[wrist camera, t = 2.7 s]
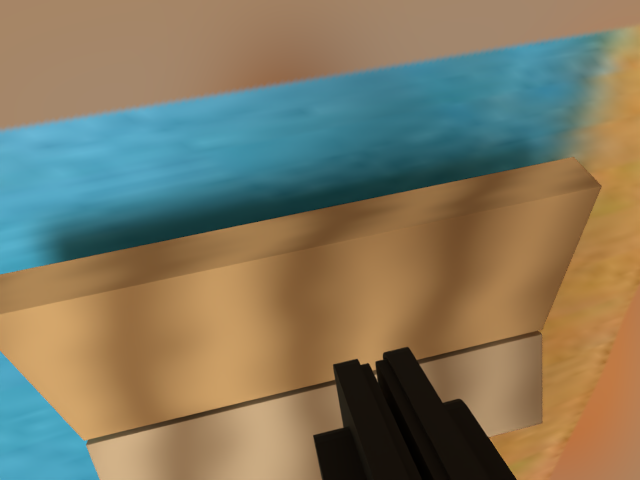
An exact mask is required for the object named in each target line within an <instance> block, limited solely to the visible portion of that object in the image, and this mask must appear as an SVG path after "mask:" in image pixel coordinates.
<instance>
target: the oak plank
mask: <svg viewBox="0 0 640 480" xmlns="http://www.w3.org/2000/svg"><path fill="white" fill-rule="evenodd" d="M601 187H602V186H601V185H600V184H599V183H598V182H597V181H596V180H595V179H594V178H593V177H592V176H591V174H590V173H589V172H588V171H587V170H586V169H585V168H584V167H583V166H582V165H581V164H580V163H579V162H578V161H577V160H576V159H575V158H574V157H571V158H566V159H561V160H557V161H552V162H547V163H542V164H537V165H532V166H527V167H522V168H518V169H513V170H508V171H503V172H498V173H493V174H488V175H483V176H479V177H474V178H469V179H464V180H459V181H454V182H449V183H444V184H440V185H435V186H430V187H425V188H420V189H415V190H410V191H406V192H401V193H396V194H391V195H386V196H381V197H376V198H371V199H367V200H362V201H357V202H352V203H347V204H342V205H337V206H332V207H328V208H323V209H318V210H313V211H308V212H303V213H298V214H293V215H289V216H284V217H279V218H274V219H269V220H264V221H259V222H255V223H250V224H245V225H240V226H235V227H230V228H225V229H220V230H216V231H211V232H206V233H201V234H196V235H191V236H186V237H181V238H177V239H172V240H167V241H162V242H157V243H152V244H147V245H142V246H138V247H133V248H128V249H123V250H118V251H113V252H108V253H103V254H99V255H94V256H89V257H84V258H79V259H74V260H69V261H65V262H60V263H55V264H50V265H45V266H40V267H35V268H30V269H26V270H21V271H16V272H11V273H6V274H1V275H0V351H1V352H2V353H3V354H4V355H5V356H6V357H7V358H8V360H9V361H10V362H11V363H12V364H13V365H14V366H15V367H16V368H17V369H18V370H19V371H20V372H21V373H22V374H23V376H24V377H25V378H26V379H27V380H28V381H29V382H30V383H31V384H32V385H33V386H34V387H35V388H36V389H37V391H38V392H39V393H40V394H41V395H42V396H43V397H44V398H45V399H46V400H47V401H48V402H49V403H50V404H51V406H52V407H53V408H54V409H55V410H56V411H57V412H58V413H59V414H60V415H61V416H62V417H63V418H64V419H65V421H66V422H67V423H68V424H69V425H70V426H71V427H72V428H73V429H74V430H75V431H76V432H77V433H78V434H79V436H80V437H81V438H82V439H83V440H84V441H85V440H89V439H93V438H97V437H101V436H105V435H109V434H113V433H118V432H122V431H126V430H130V429H134V428H138V427H142V426H146V425H151V424H155V423H159V422H163V421H167V420H171V419H175V418H179V417H184V416H188V415H192V414H196V413H200V412H204V411H208V410H212V409H217V408H221V407H225V406H229V405H233V404H237V403H241V402H245V401H250V400H254V399H258V398H262V397H266V396H270V395H274V394H278V393H283V392H287V391H291V390H295V389H299V388H303V387H307V386H311V385H316V384H320V383H324V382H328V381H332V380H335V376H334V370H333V364H337V363H341V362H345V361H349V360H354V359H358V360H359V362H360V365H362V364H366V363H369V364H370V366H371V368H372V371H373V370H376V365H375V362H376V361H379V360H383V353H384V352H387V351H392V350H396V349H400V348H404V347H409V348H410V350H411V351H412V353H413V355H414V356H415V358H416V360H419V359H423V358H427V357H431V356H435V355H439V354H443V353H448V352H452V351H456V350H460V349H464V348H468V347H472V346H476V345H481V344H485V343H489V342H493V341H497V340H501V339H505V338H509V337H514V336H518V335H522V334H526V333H530V332H534V331H538V330H542V329H543V326H544V324H545V321H546V319H547V317H548V314H549V312H550V309H551V307H552V305H553V302H554V300H555V297H556V295H557V292H558V290H559V288H560V285H561V283H562V280H563V278H564V276H565V273H566V271H567V268H568V266H569V264H570V261H571V259H572V256H573V254H574V252H575V249H576V247H577V244H578V242H579V240H580V237H581V235H582V232H583V230H584V227H585V225H586V223H587V220H588V218H589V215H590V213H591V211H592V208H593V206H594V203H595V201H596V199H597V196H598V194H599V191H600V189H601Z"/></svg>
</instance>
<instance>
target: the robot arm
mask: <svg viewBox="0 0 640 480" xmlns="http://www.w3.org/2000/svg"><path fill="white" fill-rule="evenodd" d="M375 365H376V373H377V379H376V377H375V375H374V373H373V371H372V368H371V366H370V364H369V363H366V364H362V365H360V362H359V360H358V359H354V360H349V361H345V362H341V363H337V364H333V370H334V376H335V382H336V388H337V393H338V399H339V405H340V411H341V417H342V422H343V428H340V429H336V430H332V431H328V432H324V433H320V434H316V435H313V438H314V443H315V448H316V453H317V458H318V463H319V468H320V473H321V477H322V480H517V479H516V478H515V477H514V475H513V474H512V472H511V471H510V469H509V468H508V466H507V465H506V463H505V462H504V460H503V459H502V457H501V456H500V454H499V453H498V451H497V450H496V448H495V447H494V445H493V444H492V442H491V441H490V439H489V438H488V436H487V435H486V433H485V432H484V430H483V429H482V427H481V426H480V424H479V423H478V421H477V420H476V418H475V417H474V415H473V414H472V412H471V411H470V409H469V408H468V406H467V405H466V404H465V403H464V401H463V400H461V399H455V400H451V401H447V402H442V401H441V399H440V397H439V396H438V394H437V392H436V391H435V389H434V388H433V386H432V384H431V383H430V381H429V379H428V378H427V376H426V374H425V373H424V371H423V369H422V368H421V366H420V365H419V363H418V361H417V360H416V358H415V356H414V355H413V353H412V351H411V350H410V348H409V347H404V348H400V349H396V350H392V351H387V352H384V353H383V360H379V361H376V362H375ZM377 381H378V382H377Z"/></svg>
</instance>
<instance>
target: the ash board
mask: <svg viewBox="0 0 640 480" xmlns="http://www.w3.org/2000/svg"><path fill="white" fill-rule="evenodd" d="M417 361H418V363H419V365H420V366H421V368H422V369H423V371H424V373H425V374H426V376H427V378H428V379H429V381H430V383H431V384H432V386H433V388H434V389H435V391H436V392H437V394H438V396H439V397H440V399H441V401H442V402H447V401H451V400H455V399H461V400H463V401H464V403H465V404H466V405H467V406H468V408H469V409H470V411H471V412H472V414H473V415H474V417H475V418H476V420H477V421H478V423H479V424H480V426H481V427H482V429H483V430H484V432H485V433H486V435H487V436H488V437H492V436H495V435H499V434H503V433H507V432H511V431H514V430H518V429H522V428H526V427H530V426H533V425H537V424H541V423H542V334H541V333H540V332H539V331H534V332H530V333H526V334H522V335H518V336H514V337H509V338H505V339H501V340H497V341H493V342H489V343H485V344H481V345H476V346H472V347H468V348H464V349H460V350H456V351H452V352H448V353H443V354H439V355H435V356H431V357H427V358H423V359H419V360H417ZM373 373H374V375H375V377H376V379H377V373H376V370H373ZM377 382H378V381H377ZM340 428H343V422H342V417H341V411H340V405H339V399H338V393H337V388H336V382H335V380H332V381H328V382H324V383H320V384H316V385H311V386H307V387H303V388H299V389H295V390H291V391H287V392H283V393H278V394H274V395H270V396H266V397H262V398H258V399H254V400H250V401H245V402H241V403H237V404H233V405H229V406H225V407H221V408H217V409H212V410H208V411H204V412H200V413H196V414H192V415H188V416H184V417H179V418H175V419H171V420H167V421H163V422H159V423H155V424H151V425H146V426H142V427H138V428H134V429H130V430H126V431H122V432H118V433H113V434H109V435H105V436H101V437H97V438H93V439H89V440H88V441H87V444H86V446H87V449H88V451H89V454H90V456H91V459H92V461H93V464H94V466H95V468H96V471H97V473H98V476H99V478H100V480H322V477H321V473H320V468H319V463H318V458H317V453H316V448H315V443H314V438H313V435H316V434H320V433H324V432H328V431H332V430H336V429H340Z"/></svg>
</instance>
